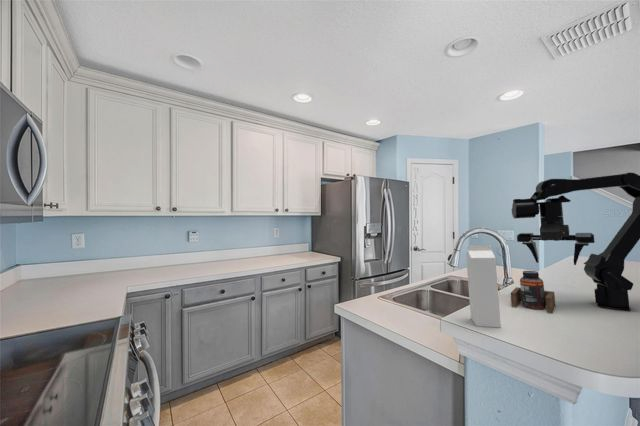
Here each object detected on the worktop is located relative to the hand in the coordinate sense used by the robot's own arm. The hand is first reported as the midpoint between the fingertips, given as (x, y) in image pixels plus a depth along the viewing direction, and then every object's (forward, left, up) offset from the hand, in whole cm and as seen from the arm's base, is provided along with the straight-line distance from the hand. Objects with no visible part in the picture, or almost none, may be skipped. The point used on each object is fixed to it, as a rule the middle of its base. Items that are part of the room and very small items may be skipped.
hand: (555, 263), depth 85 cm
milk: (+13, +32, -13) cm, 37 cm away
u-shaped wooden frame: (+5, +9, -13) cm, 17 cm away
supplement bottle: (+5, +9, -13) cm, 17 cm away
